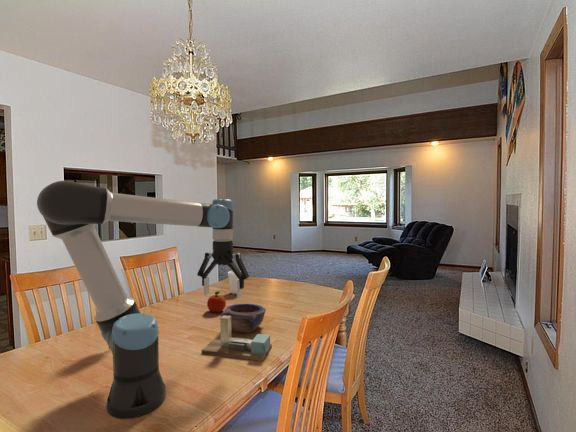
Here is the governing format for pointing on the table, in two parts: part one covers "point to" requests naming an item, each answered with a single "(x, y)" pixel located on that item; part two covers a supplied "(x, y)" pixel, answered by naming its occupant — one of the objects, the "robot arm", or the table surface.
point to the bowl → (245, 317)
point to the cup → (233, 281)
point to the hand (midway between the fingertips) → (222, 295)
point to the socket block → (260, 344)
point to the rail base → (232, 350)
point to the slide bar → (226, 334)
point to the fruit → (216, 303)
